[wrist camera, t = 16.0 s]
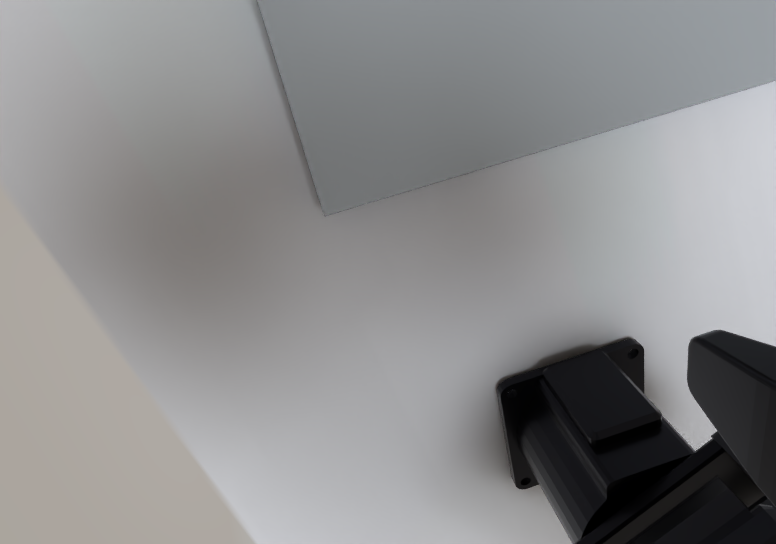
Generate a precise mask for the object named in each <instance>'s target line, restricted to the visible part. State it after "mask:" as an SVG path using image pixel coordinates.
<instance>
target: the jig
mask: <svg viewBox="0 0 776 544" xmlns="http://www.w3.org/2000/svg"><path fill="white" fill-rule="evenodd" d="M257 2H258V5H259V8H260V11H261V15H262V18H263V21H264V24H265V27H266V31H267V34H268V37H269V40H270V44H271V47H272V50H273V53H274V56H275V60H276V63H277V66H278V69H279V72H280V76H281V79H282V82H283V85H284V88H285V92H286V95H287V98H288V101H289V105H290V108H291V111H292V114H293V117H294V121H295V124H296V127H297V130H298V133H299V137H300V140H301V143H302V146H303V149H304V153H305V156H306V159H307V162H308V166H309V169H310V172H311V175H312V178H313V182H314V185H315V188H316V191H317V194H318V198H319V201H320V204H321V207H322V210H323V214H324V216H328V215H331V214H334V213H338V212H341V211H344V210H348V209H351V208H354V207H358V206H361V205H364V204H368V203H371V202H374V201H378V200H381V199H384V198H388V197H391V196H394V195H397V194H401V193H404V192H407V191H411V190H414V189H417V188H421V187H424V186H427V185H431V184H434V183H437V182H441V181H444V180H447V179H451V178H454V177H457V176H461V175H464V174H467V173H471V172H474V171H477V170H481V169H484V168H487V167H491V166H494V165H497V164H501V163H504V162H507V161H511V160H514V159H517V158H521V157H524V156H527V155H530V154H534V153H537V152H540V151H544V150H547V149H550V148H554V147H557V146H560V145H564V144H567V143H570V142H574V141H577V140H580V139H584V138H587V137H590V136H594V135H597V134H600V133H604V132H607V131H610V130H614V129H617V128H620V127H624V126H627V125H630V124H634V123H637V122H640V121H644V120H647V119H650V118H653V117H657V116H660V115H663V114H667V113H670V112H673V111H677V110H680V109H683V108H687V107H690V106H693V105H697V104H700V103H703V102H707V101H710V100H713V99H717V98H720V97H723V96H727V95H730V94H733V93H737V92H740V91H743V90H747V89H750V88H753V87H757V86H760V85H763V84H767V83H770V82H773V81H776V0H257Z"/></svg>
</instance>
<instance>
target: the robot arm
mask: <svg viewBox="0 0 776 544" xmlns="http://www.w3.org/2000/svg"><path fill="white" fill-rule="evenodd" d="M631 350H632V351H631ZM629 351H631V352H629ZM687 382H688V387H689V389H690V392H691V394H692V395H693V397H694V399H695V400H696V401H697V403H698V404H699V406H700V407H701V408H702V410H703V411H704V413H705V414H706V415H707V417H708V418H709V420H710V421H711V422H712V424H713V425H714V427H715V428H716V429H717V432H716V433H714V434H713V435H712V436H711V437H712V439H711V440H710V441H708V442H707V443H706V444H705V445H703V446H702V447H701V448H699V449H698V450H697V451H694V449H693V448H692V447H691V446H690V445H689V444H688V443H687V442H686V441H685V440H684V439H683V437H682V436H681V435H680V434H679V433H678V432H677V431H676V430H675V429H674V428H673V427H672V426H671V424H670V423H669V422H668V421H667V420H666V419H665V418H664V417H663V416H662V414H661V412H660V411H659V410H658V409H657V408H656V406H655V405H654V404H653V403H652V402H651V401H650V400H649V399H648V398H647V397H646V396H645V395H644V349H643V347H642V346H641V345H640V344H639V343H638V342H637V341H636V340H635V339H627V340H624V341H621V342H618V343H615V344H612V345H609V346H606V347H603V348H600V349H597V350H594V351H591V352H588V353H585V354H582V355H579V356H576V357H573V358H570V359H567V360H564V361H561V362H558V363H555V364H552V365H549V366H546V367H543V368H539V369H536V370H533V371H530V372H527V373H524V374H521V375H518V376H515V377H512V378H509V379H506V380H504V381H502V382H501V383H500V384H499V386H498V388H497V395H498V401H499V406H500V412H501V418H502V423H503V429H504V435H505V440H506V446H507V452H508V457H509V463H510V469H511V474H512V479H513V481H514V483H515V485H516V487H517V488H519V489H527V488H530V487H533V486H536V485H538V484H539V485H540V486H541V488H542V490H543V492H544V493H545V495H546V497H547V499H548V501H549V502H550V504H551V506H552V508H553V509H554V511H555V513H556V515H557V517H558V518H559V520H560V522H561V524H562V525H563V527H564V529H565V531H566V533H567V534H568V536H569V538H570V540H571V541H572V543H573V544H776V347H775V346H772V345H768V344H765V343H762V342H759V341H756V340H752V339H749V338H746V337H743V336H739V335H736V334H733V333H730V332H726V331H723V330H714V331H711V332H708V333H705V334H702V335H699V336H696V337H694V338H692V339H691V341H690V343H689V347H688V370H687ZM512 389H513V390H512ZM509 390H512V391H511V392H509V393H507V392H508V391H509Z"/></svg>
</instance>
